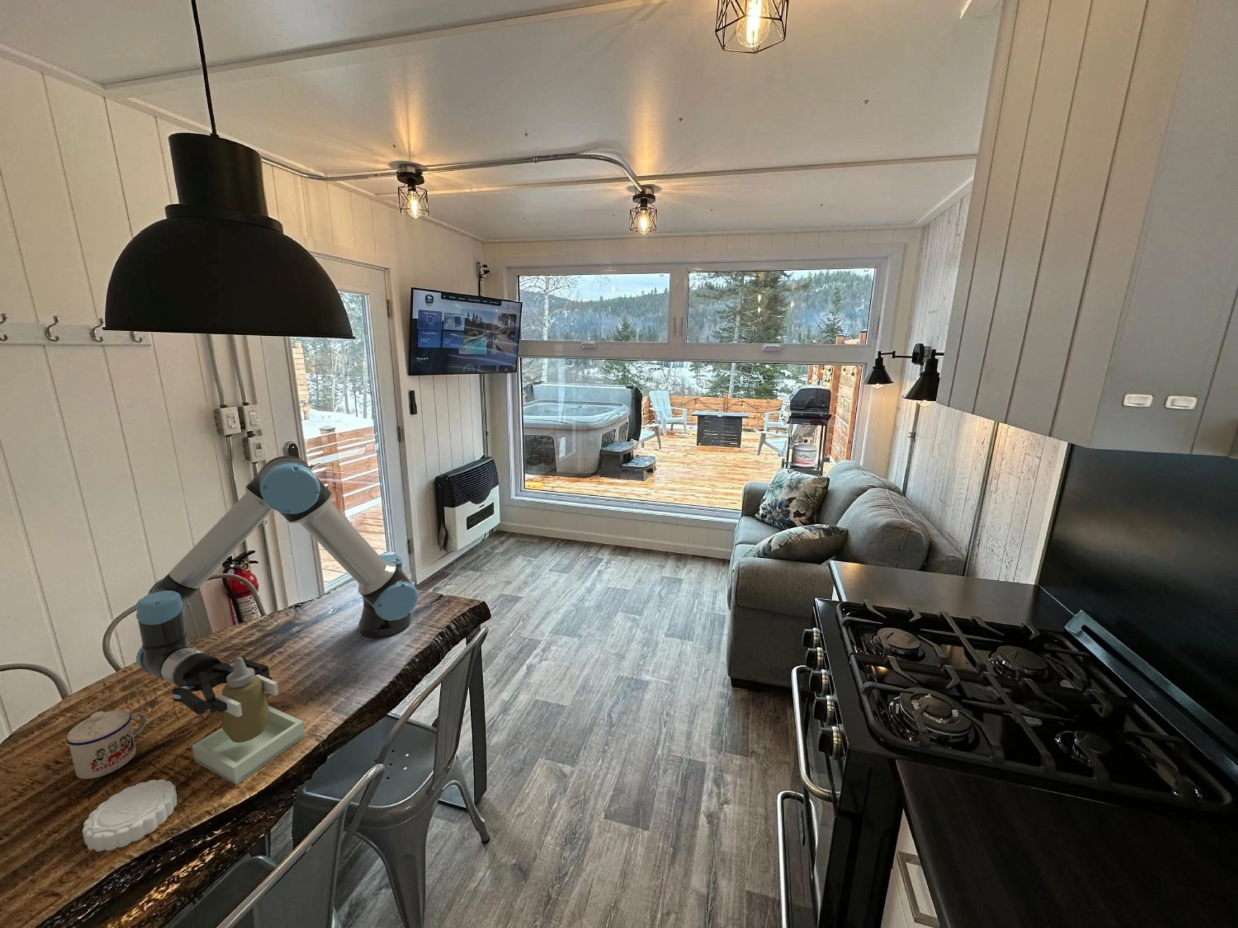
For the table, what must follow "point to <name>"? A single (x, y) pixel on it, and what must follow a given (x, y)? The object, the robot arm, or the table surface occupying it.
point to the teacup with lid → (103, 742)
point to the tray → (248, 747)
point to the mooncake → (129, 815)
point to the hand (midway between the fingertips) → (258, 699)
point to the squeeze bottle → (245, 704)
